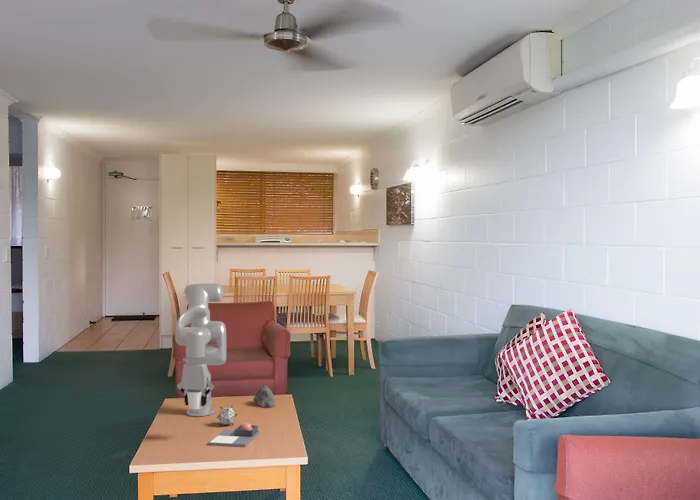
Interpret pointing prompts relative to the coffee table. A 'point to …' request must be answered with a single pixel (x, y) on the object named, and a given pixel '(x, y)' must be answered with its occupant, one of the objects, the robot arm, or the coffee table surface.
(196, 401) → the shot glass
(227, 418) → the game die
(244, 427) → the dome
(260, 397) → the mineral rock
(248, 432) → the board
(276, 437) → the coffee table surface
